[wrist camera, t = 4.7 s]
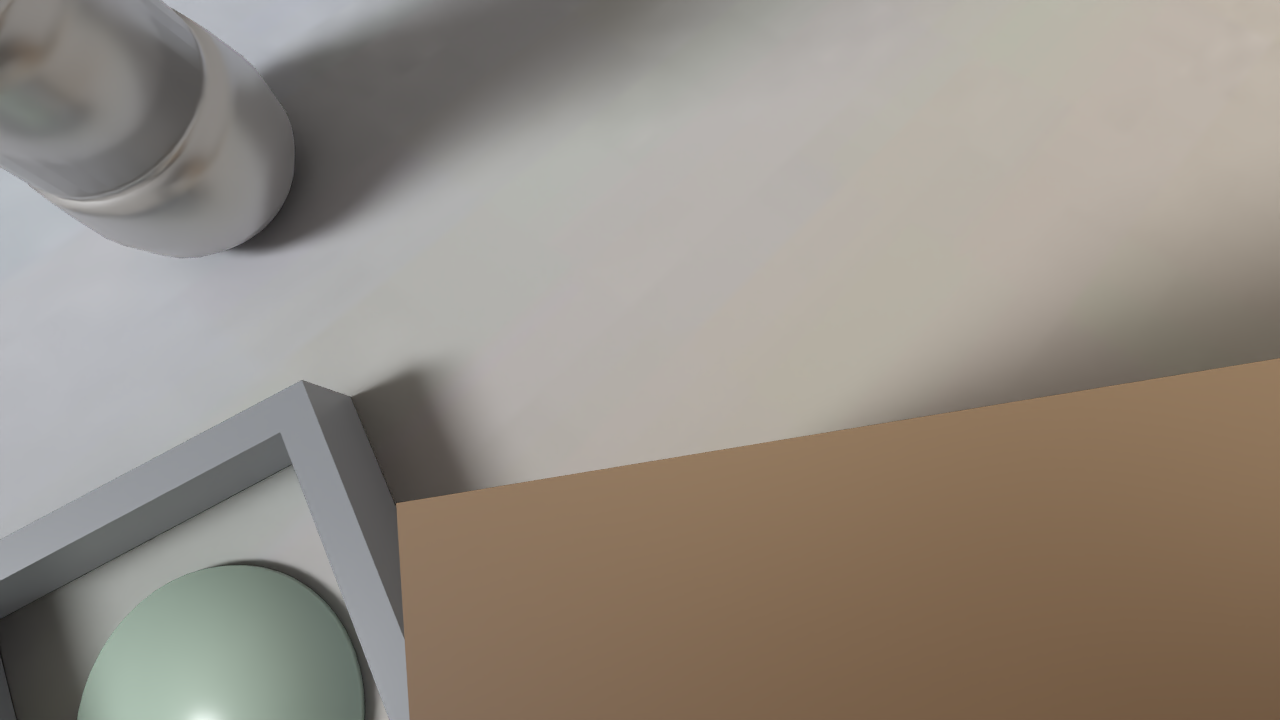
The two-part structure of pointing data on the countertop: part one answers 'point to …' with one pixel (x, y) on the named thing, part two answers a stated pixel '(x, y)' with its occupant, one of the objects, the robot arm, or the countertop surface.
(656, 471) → the walnut block
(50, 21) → the plastic bottle
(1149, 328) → the countertop surface
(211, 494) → the walled pen
